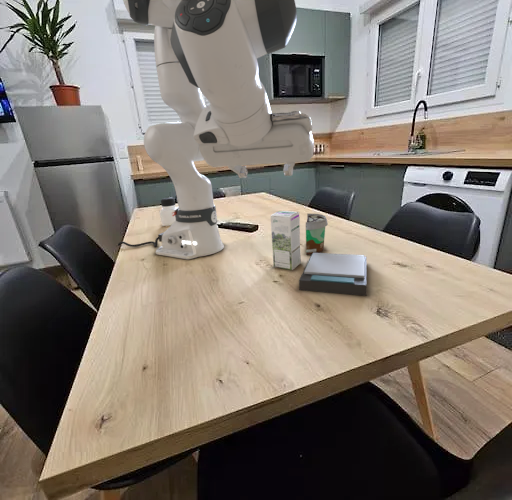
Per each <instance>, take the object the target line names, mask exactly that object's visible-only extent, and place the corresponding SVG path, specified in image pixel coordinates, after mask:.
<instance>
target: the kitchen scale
mask: <svg viewBox="0 0 512 500" xmlns="http://www.w3.org/2000/svg"><path fill="white" fill-rule="evenodd" d="M367 259H368V257H367V256H366V255H365V254H355V253H354V254H352V253H351V254H350V253H331V252H329V253H328V252H320V253H313V254H311V255H309V259H308V261H307V263H306V264H305V266H304V269H303V271H302V273H301V275H300V277H299V279H298V282H299V283H298V288H299V289H298V290H299V291H307V292H309V291H310V292H319V293H329V294H330V293H331V294H341V295H353V296H364V297H365V296H366V297H367V286H368V285H367V284H368V283H367V281H368V279H367V276H368V275H367V274H368V272H367V271H368V269H367V267H368V266H367V265H368V264H367Z"/></svg>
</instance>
